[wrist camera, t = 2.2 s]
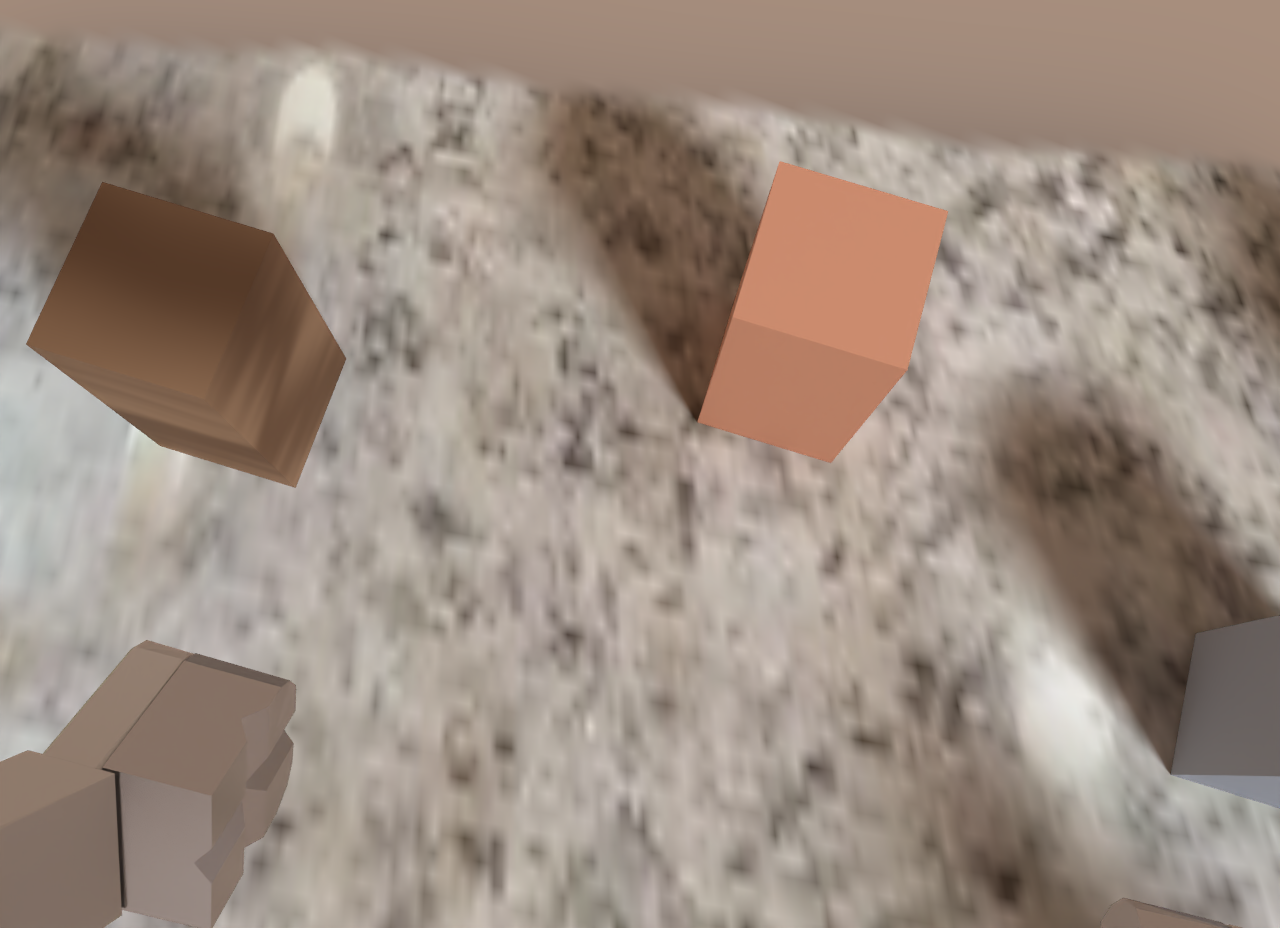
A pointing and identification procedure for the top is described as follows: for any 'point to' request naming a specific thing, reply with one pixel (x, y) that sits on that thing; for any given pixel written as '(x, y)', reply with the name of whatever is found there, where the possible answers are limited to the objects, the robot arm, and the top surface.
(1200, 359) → the top surface
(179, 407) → the walnut block
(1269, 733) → the slate block
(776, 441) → the terracotta block
